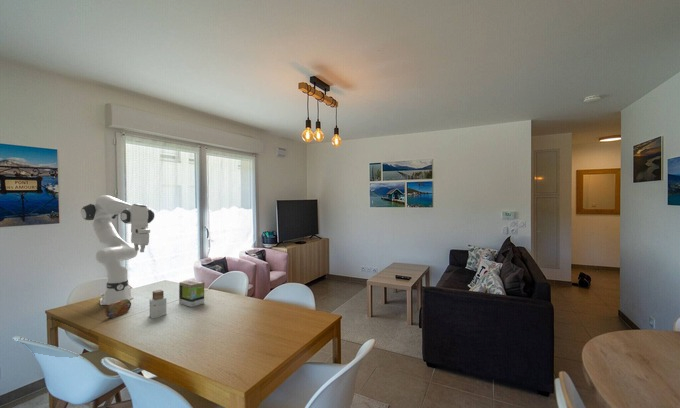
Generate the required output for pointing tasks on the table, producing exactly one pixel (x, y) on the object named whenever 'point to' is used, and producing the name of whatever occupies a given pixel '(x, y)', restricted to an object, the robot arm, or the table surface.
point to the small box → (157, 307)
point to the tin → (117, 308)
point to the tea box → (191, 293)
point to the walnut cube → (158, 294)
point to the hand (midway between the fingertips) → (139, 251)
